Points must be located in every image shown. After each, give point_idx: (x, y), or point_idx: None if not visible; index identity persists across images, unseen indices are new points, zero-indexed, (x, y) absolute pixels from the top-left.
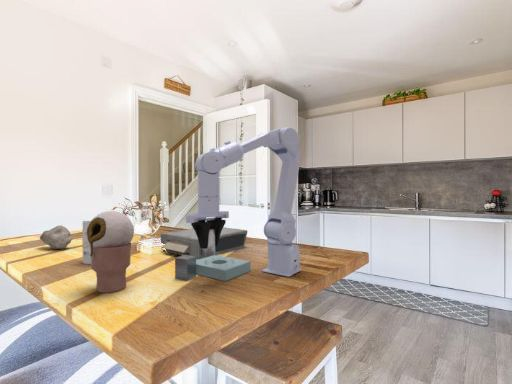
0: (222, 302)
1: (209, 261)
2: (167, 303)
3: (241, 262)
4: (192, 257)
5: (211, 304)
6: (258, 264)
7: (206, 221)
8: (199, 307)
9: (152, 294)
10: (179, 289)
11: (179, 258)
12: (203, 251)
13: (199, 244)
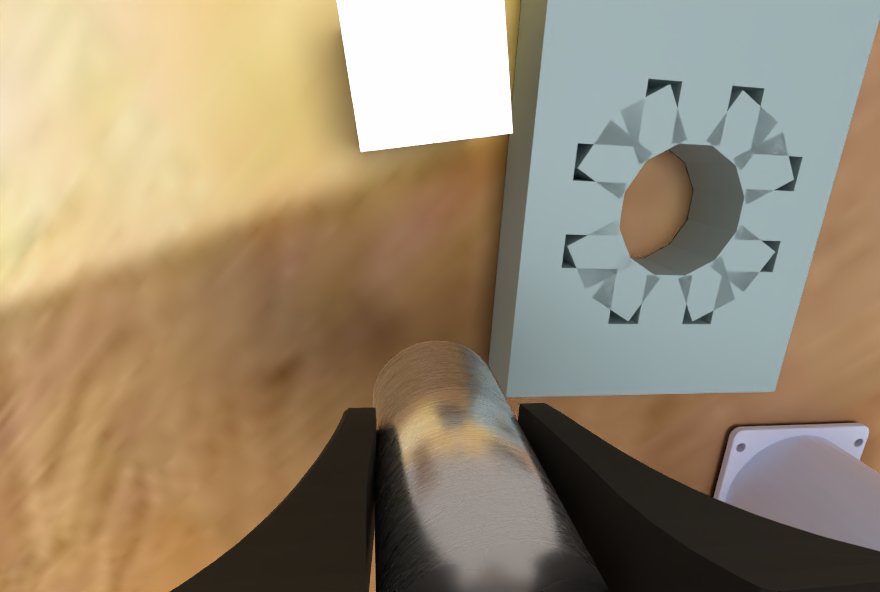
0: (233, 544)
1: (663, 126)
2: (15, 355)
3: (727, 360)
4: (456, 136)
5: (179, 525)
6: (876, 317)
7: (751, 589)
8: (113, 510)
9: (20, 158)
10: (210, 239)
11: (346, 39)
12: (375, 406)
13: (338, 426)
